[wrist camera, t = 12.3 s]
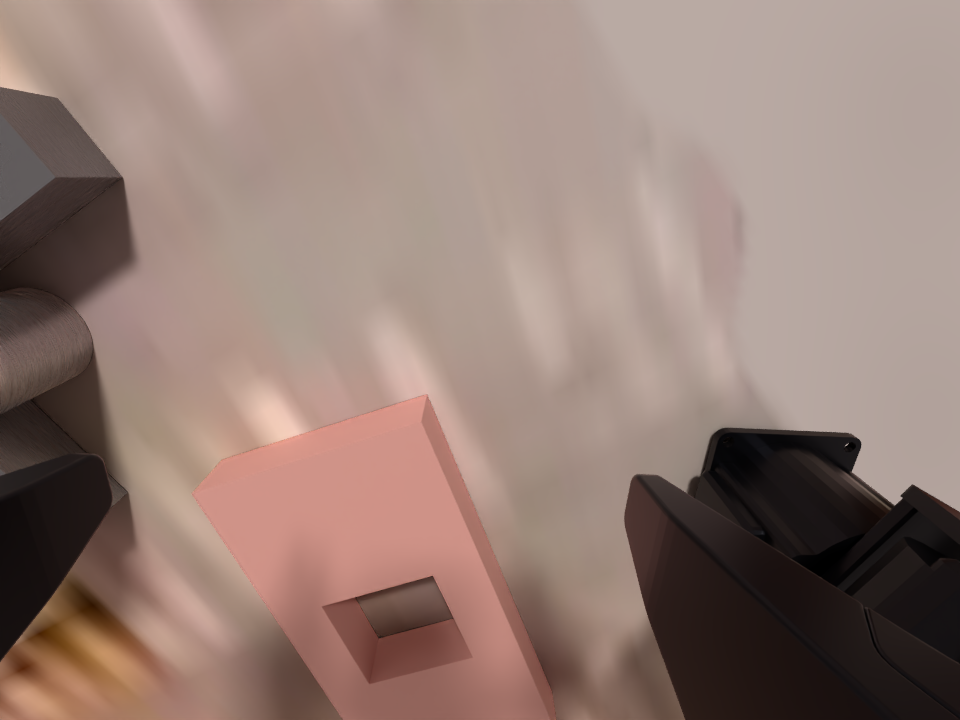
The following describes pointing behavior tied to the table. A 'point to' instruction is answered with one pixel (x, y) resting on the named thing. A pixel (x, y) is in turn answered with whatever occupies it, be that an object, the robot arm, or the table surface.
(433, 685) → the beam plate
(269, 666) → the table surface
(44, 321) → the axle
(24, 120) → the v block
